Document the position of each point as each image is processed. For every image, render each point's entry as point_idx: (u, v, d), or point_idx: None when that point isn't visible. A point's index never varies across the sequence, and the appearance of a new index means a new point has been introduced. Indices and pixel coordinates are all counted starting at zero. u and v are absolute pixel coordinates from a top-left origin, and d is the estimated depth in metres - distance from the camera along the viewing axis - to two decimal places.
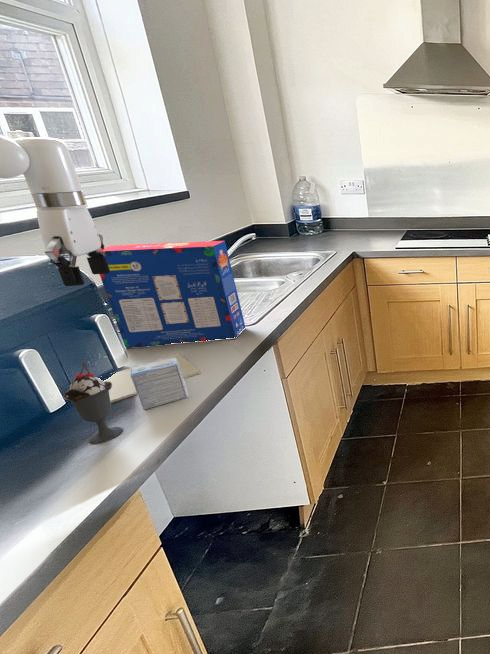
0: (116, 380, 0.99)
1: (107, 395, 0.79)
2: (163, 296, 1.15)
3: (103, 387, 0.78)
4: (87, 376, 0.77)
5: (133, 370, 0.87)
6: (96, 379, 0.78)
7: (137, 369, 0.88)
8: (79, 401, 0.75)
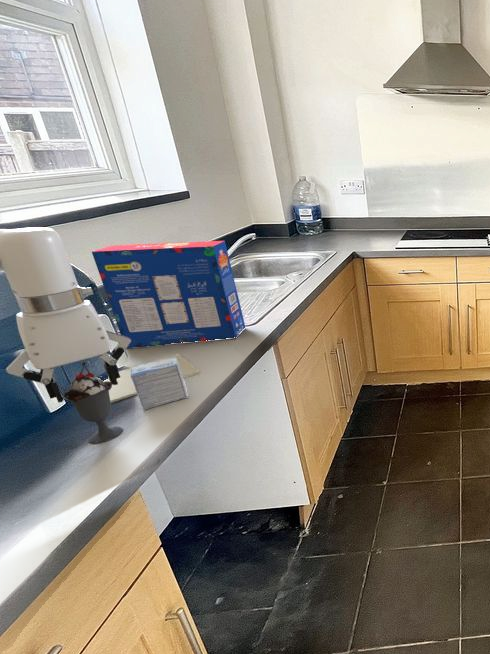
0: None
1: (107, 395, 0.79)
2: (163, 296, 1.15)
3: (103, 387, 0.78)
4: (87, 376, 0.77)
5: (133, 370, 0.87)
6: (96, 379, 0.78)
7: (137, 369, 0.88)
8: (79, 401, 0.75)
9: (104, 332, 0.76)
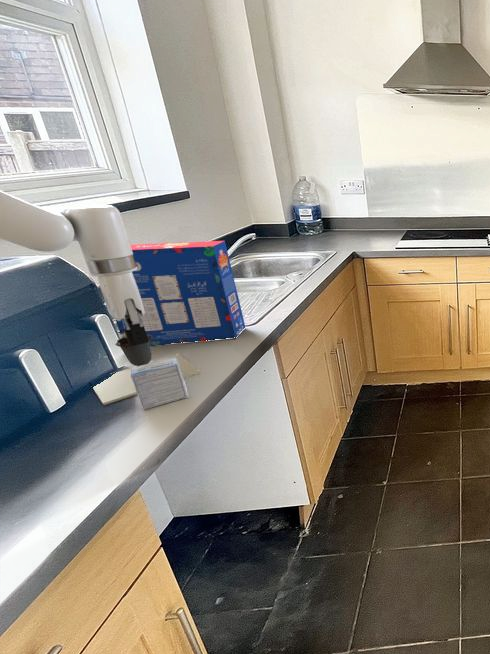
0: (116, 380, 0.99)
1: (149, 345, 0.98)
2: (163, 296, 1.15)
3: None
4: None
5: (133, 370, 0.87)
6: None
7: (138, 369, 0.88)
8: (128, 347, 0.94)
9: None
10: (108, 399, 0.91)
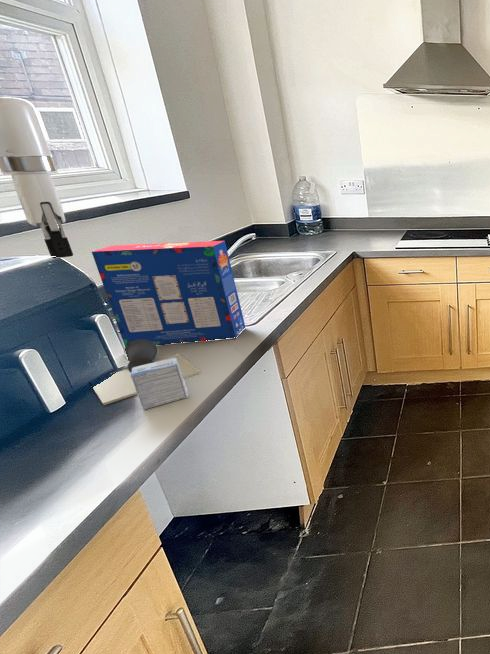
0: (116, 380, 0.99)
1: (150, 347, 1.08)
2: (163, 296, 1.15)
3: None
4: None
5: (133, 370, 0.87)
6: None
7: (138, 369, 0.88)
8: (130, 345, 1.06)
9: None
10: (108, 399, 0.91)
